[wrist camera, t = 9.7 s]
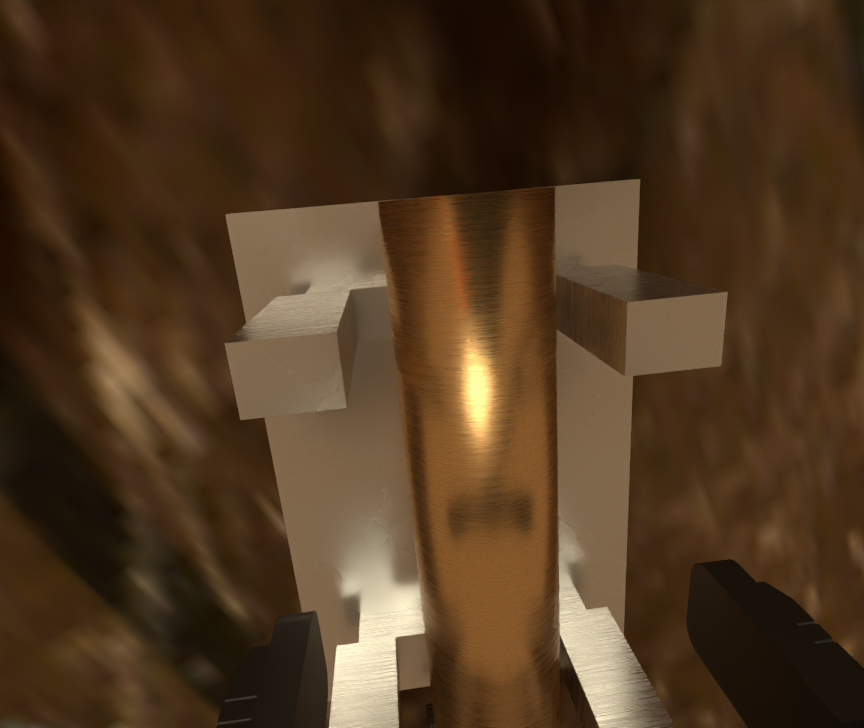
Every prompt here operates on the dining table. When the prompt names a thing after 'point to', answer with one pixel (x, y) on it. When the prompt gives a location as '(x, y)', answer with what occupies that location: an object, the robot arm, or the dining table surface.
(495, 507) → the tube
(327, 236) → the white holder rack
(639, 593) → the dining table surface
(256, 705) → the robot arm
